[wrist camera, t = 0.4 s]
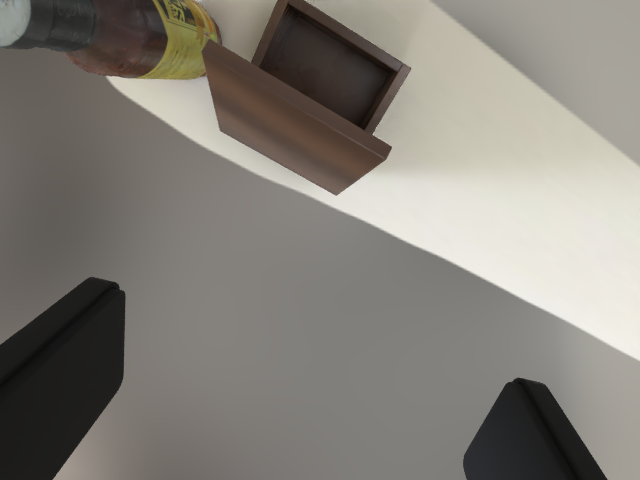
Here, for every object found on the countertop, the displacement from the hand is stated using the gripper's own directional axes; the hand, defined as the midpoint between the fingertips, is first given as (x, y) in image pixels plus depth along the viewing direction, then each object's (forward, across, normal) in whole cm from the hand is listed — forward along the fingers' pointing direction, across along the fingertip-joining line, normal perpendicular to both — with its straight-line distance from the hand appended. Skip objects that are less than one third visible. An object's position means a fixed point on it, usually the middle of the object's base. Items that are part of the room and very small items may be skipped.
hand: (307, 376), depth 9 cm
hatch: (+18, +3, -3) cm, 18 cm away
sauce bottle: (+30, +15, -6) cm, 34 cm away
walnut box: (+30, +3, -5) cm, 30 cm away
